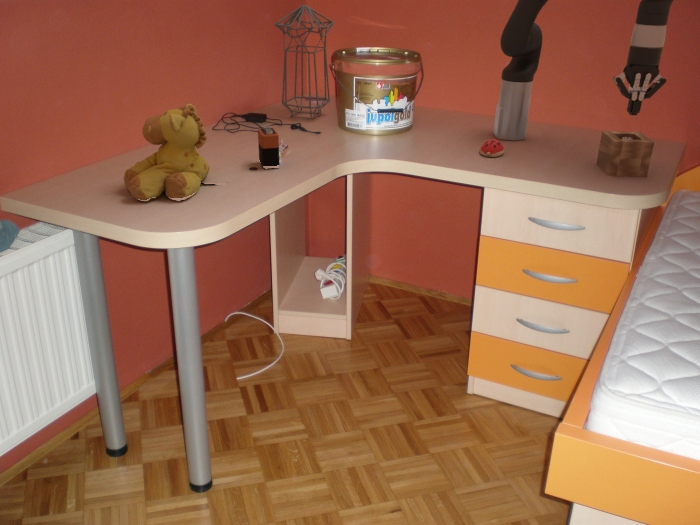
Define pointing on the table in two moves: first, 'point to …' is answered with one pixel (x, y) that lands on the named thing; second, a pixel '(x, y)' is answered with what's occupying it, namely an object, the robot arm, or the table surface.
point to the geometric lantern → (292, 19)
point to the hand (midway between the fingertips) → (632, 114)
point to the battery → (268, 146)
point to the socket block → (624, 153)
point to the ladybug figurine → (492, 148)
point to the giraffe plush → (170, 156)
